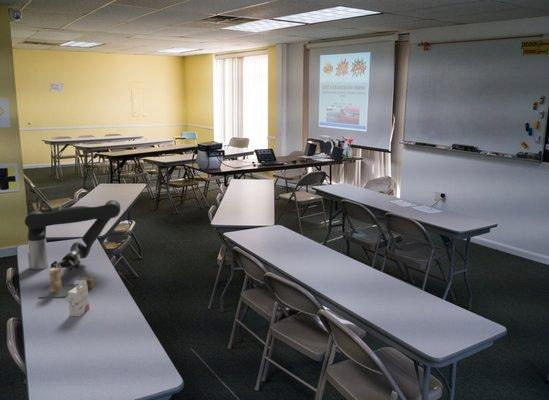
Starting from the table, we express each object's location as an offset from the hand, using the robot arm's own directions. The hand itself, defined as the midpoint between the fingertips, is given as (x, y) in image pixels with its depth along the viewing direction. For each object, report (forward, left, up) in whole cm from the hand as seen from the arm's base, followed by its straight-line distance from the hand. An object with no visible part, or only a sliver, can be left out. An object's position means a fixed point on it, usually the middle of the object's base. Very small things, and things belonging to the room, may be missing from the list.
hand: (61, 269), depth 252 cm
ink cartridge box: (+18, -34, -9) cm, 40 cm away
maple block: (0, -10, -8) cm, 13 cm away
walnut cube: (+14, -4, -9) cm, 17 cm away
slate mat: (0, -10, -9) cm, 13 cm away
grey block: (+12, -11, -9) cm, 19 cm away
